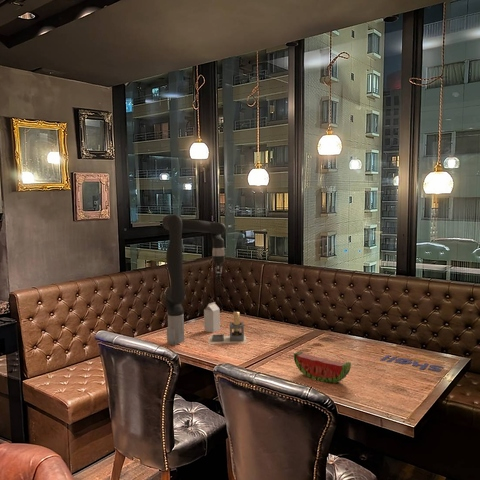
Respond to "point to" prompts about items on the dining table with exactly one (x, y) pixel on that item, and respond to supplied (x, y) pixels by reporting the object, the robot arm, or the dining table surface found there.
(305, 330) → the dining table surface
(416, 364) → the signage
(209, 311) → the milk carton
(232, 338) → the collar stand
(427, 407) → the dining table surface
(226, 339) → the base board
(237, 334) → the brass tube
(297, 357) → the fruit slice
